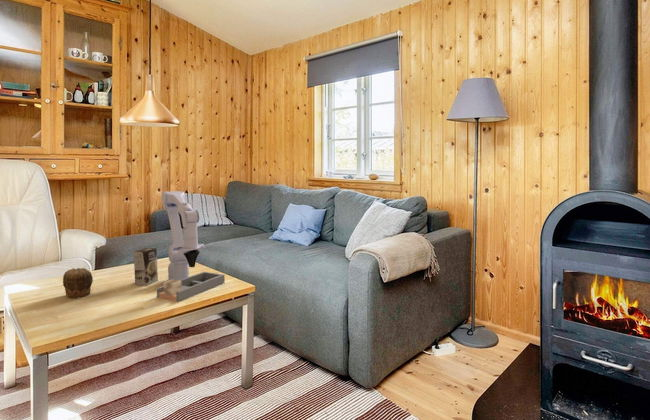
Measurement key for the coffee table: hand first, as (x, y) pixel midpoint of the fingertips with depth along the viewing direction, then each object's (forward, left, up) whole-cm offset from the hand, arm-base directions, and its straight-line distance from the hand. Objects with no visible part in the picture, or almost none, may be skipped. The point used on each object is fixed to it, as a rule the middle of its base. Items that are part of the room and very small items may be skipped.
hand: (191, 266), depth 183 cm
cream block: (+1, -13, -8) cm, 15 cm away
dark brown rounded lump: (-37, -28, -11) cm, 48 cm away
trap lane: (+1, -1, -10) cm, 10 cm away
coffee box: (-26, -2, -11) cm, 28 cm away
